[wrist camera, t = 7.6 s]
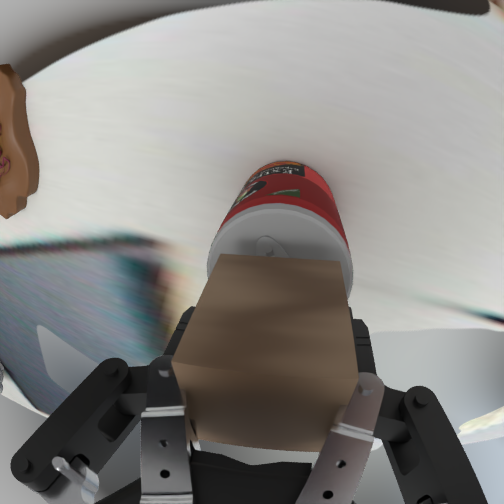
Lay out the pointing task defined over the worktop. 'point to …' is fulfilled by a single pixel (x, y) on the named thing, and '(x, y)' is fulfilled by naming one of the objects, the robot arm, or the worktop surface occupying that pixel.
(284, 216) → the canned food
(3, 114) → the plant
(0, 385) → the teacup
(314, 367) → the walnut block
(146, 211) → the worktop surface
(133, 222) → the worktop surface
